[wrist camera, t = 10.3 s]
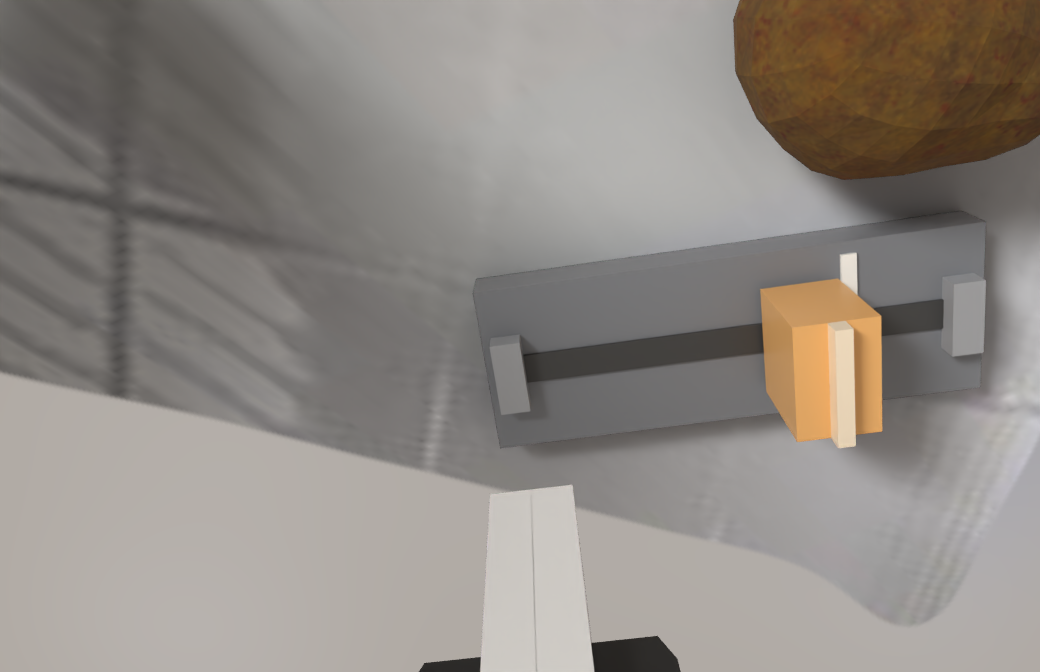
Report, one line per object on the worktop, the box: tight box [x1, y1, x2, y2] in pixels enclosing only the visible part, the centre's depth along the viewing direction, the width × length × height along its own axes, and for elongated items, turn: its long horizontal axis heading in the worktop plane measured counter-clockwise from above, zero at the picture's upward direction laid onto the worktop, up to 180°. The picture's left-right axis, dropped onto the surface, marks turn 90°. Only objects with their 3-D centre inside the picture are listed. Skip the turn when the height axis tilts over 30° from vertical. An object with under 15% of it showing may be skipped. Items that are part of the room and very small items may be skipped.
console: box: [473, 211, 986, 448], centre depth 36 cm, size 20×7×3 cm, turn 99°
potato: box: [733, 0, 1040, 180], centre depth 29 cm, size 8×12×9 cm
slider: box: [760, 279, 882, 448], centre depth 32 cm, size 3×4×5 cm
